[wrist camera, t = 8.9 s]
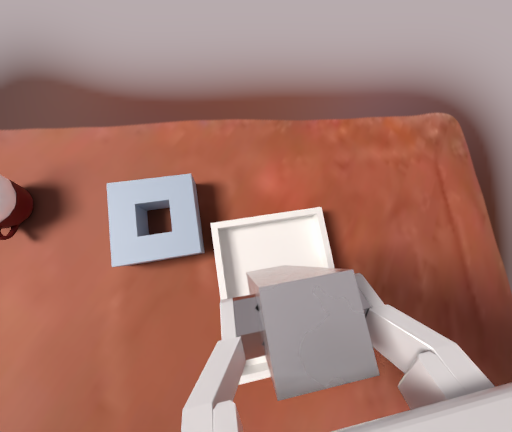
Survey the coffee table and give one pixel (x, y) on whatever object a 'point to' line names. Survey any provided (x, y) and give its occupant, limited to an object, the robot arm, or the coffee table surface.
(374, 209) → the coffee table surface
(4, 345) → the coffee table surface
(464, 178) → the coffee table surface
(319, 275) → the pin
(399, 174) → the coffee table surface
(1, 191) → the cocoa
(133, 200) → the socket block
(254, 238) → the tray
